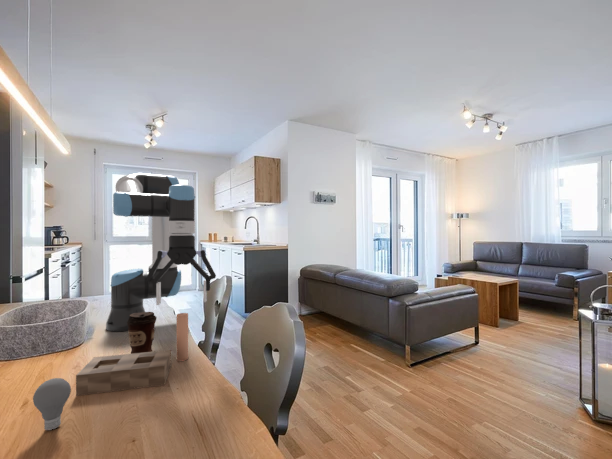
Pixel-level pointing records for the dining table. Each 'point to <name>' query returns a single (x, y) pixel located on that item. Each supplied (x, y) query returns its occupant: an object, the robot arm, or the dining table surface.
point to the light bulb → (52, 401)
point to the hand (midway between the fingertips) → (182, 302)
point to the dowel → (182, 336)
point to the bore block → (124, 372)
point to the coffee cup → (141, 331)
